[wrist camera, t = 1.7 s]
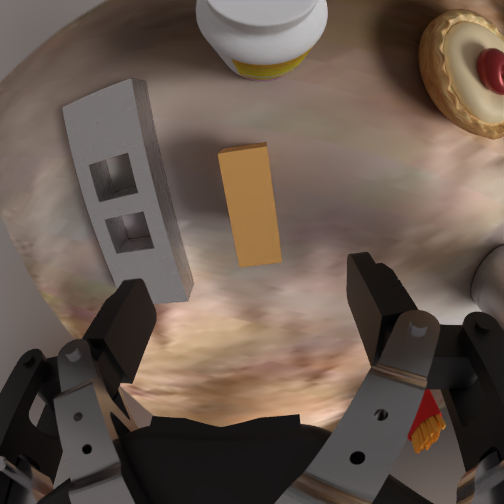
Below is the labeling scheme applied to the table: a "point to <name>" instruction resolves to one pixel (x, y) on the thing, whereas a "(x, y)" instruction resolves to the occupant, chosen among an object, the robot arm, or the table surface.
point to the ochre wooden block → (251, 203)
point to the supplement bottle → (262, 33)
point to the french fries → (426, 423)
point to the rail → (132, 199)
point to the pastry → (465, 71)
